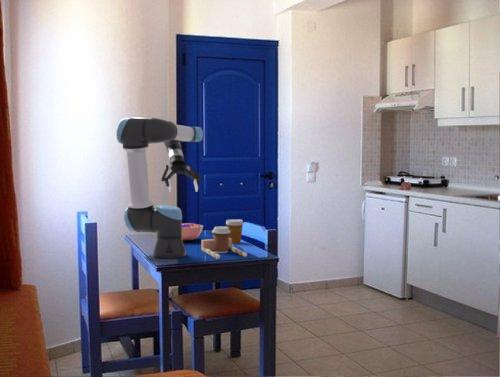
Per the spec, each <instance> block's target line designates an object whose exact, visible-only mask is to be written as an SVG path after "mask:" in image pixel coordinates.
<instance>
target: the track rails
mask: <svg viewBox="0 0 500 377" xmlns="http://www.w3.org/2000/svg"><path fill="white" fill-rule="evenodd" d="M228 250H229V251H230V250H231V251H232V252H233V253H236V254H238V255H239V256H242V257H248V253H247V252H245V251H243V250H241V249H239V248H238V247H235V246H233V245H232V246H229V249H228ZM202 252H205V253H206V254H208V255H209V256H211V257H213V258H215V259H216V260H217V259H219V260H220V259H221V255H220V254H219V253H215V252H214V250H209V249H208V248H203V251H202Z"/></svg>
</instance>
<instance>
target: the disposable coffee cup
mask: <svg viewBox="0 0 500 377" xmlns="http://www.w3.org/2000/svg"><path fill="white" fill-rule="evenodd" d="M243 225H244V221H243V219H240V218H239V219H237V218H236V219H232V218H231V219H226V221H225V226H226V227H228V229H229V230H230V231H231V232H230V233H229V238H231V239H232V245H237V244H238V245H239V244H241V241H242V235H243V234H242V232H243Z"/></svg>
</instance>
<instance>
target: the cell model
mask: <svg viewBox="0 0 500 377" xmlns="http://www.w3.org/2000/svg"><path fill="white" fill-rule="evenodd" d="M203 227H204V225H202V224H197V223H193V222H189V223H187V222H185V223H183V222H182V241H183V242H184V241H194V240H195V239H197V238H198V237H199V236H200V234H202V233H201V232H202V231H203Z"/></svg>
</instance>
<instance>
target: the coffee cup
mask: <svg viewBox="0 0 500 377" xmlns="http://www.w3.org/2000/svg"><path fill="white" fill-rule="evenodd" d="M230 232H231V231H230V230H229V229H228V227H227V226H225V225H224V226H215V227H213V229H212V230H211V233H212V239H214V250H213V252H215V253H217V254H226V253H228V252H229V251H228V250H229V249H228V242H229V233H230Z"/></svg>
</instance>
